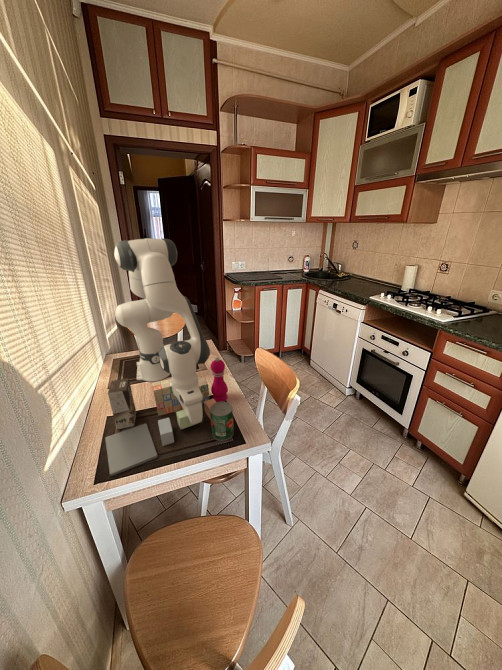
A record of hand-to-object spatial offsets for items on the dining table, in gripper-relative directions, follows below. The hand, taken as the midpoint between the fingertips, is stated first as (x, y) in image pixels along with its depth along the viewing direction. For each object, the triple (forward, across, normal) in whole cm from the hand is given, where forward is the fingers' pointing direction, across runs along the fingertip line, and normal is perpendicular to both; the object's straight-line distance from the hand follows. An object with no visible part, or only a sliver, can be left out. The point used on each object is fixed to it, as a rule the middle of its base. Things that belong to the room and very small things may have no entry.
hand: (189, 418), depth 100 cm
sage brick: (+2, 0, 0) cm, 2 cm away
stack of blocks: (+4, -14, +2) cm, 15 cm away
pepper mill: (+4, -10, +17) cm, 21 cm away
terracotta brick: (+4, -2, +10) cm, 11 cm away
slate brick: (+4, 0, -9) cm, 10 cm away
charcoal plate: (+4, 0, -21) cm, 21 cm away
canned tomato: (+4, +10, +9) cm, 14 cm away
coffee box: (+4, -16, -20) cm, 26 cm away
